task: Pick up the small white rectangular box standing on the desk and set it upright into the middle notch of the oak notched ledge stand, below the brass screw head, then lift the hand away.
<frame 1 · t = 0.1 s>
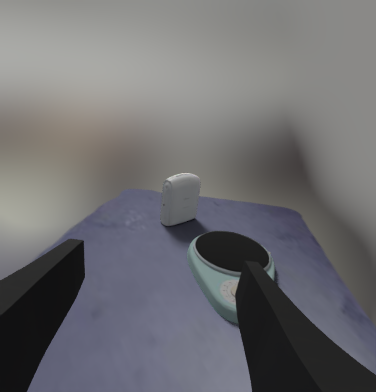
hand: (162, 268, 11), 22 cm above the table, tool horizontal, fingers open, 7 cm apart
scale: (231, 273, 49), on the table
photo printer: (178, 221, 66), on the table
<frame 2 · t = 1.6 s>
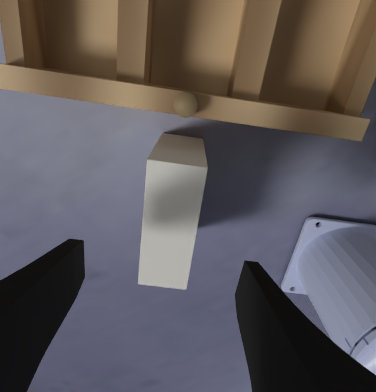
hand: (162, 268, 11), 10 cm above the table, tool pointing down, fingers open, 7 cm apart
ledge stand: (199, 4, 16), on the table
white rectangular box: (176, 185, 21), on the table
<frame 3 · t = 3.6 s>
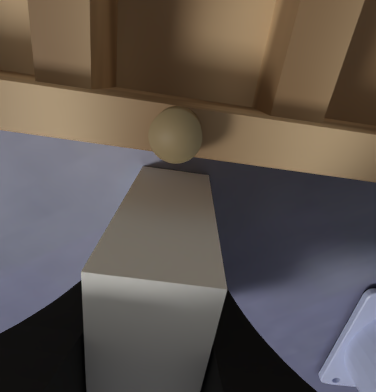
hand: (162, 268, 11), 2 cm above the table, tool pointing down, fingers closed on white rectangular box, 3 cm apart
white rectangular box: (166, 243, 13), on the table, touching gripper
when the fingers open (4 cm above the table, at t = 7.0 s): white rectangular box drops 1 cm, resting on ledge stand.
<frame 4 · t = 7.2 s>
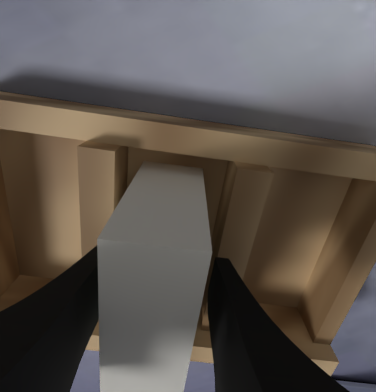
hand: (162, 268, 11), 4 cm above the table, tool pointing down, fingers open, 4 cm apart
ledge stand: (170, 219, 16), on the table
white rectangular box: (165, 231, 15), point 1 cm above the table, touching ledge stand
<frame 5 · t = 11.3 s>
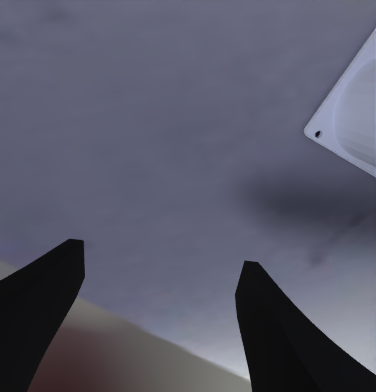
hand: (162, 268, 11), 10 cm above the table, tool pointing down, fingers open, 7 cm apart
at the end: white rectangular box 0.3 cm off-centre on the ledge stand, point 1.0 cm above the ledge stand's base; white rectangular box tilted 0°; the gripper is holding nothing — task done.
